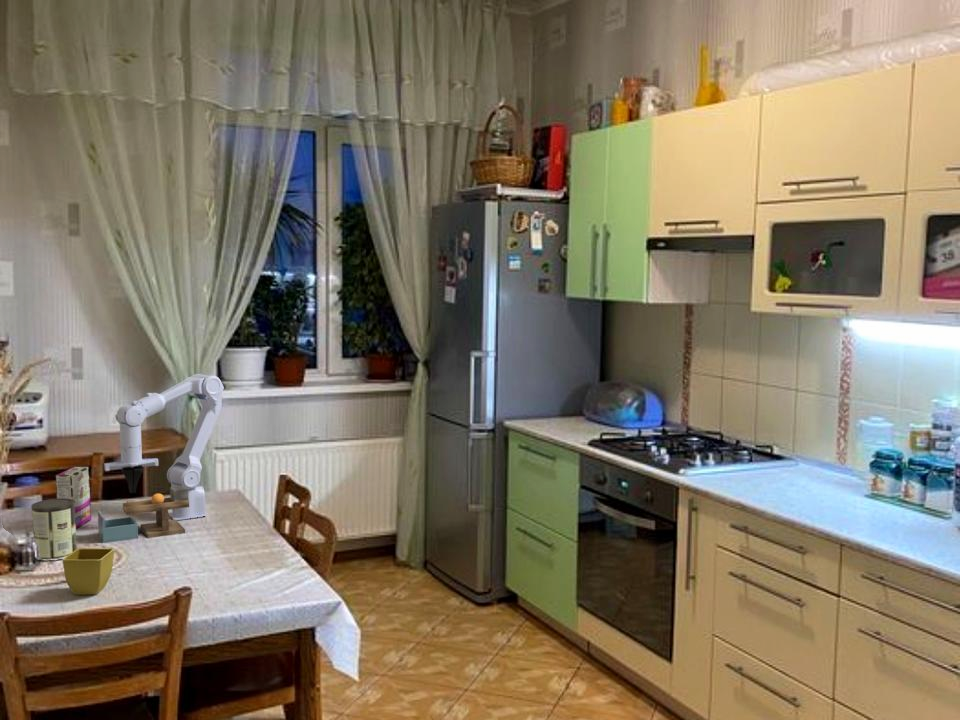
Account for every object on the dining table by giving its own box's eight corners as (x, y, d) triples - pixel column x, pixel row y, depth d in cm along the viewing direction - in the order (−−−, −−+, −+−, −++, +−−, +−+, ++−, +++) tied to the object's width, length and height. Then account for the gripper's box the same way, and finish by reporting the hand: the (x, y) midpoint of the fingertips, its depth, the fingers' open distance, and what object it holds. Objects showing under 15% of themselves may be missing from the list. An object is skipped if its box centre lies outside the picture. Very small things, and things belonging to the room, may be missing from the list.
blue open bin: (132, 530, 257) (131, 506, 256) (138, 537, 249) (137, 513, 248) (98, 534, 252) (97, 510, 251) (103, 542, 244) (102, 517, 244)
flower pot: (116, 584, 211) (115, 547, 210) (102, 598, 202) (100, 559, 201) (79, 585, 210) (77, 548, 210) (63, 598, 202) (61, 559, 201)
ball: (163, 503, 258) (162, 491, 258) (165, 506, 255) (165, 494, 255) (150, 505, 256) (150, 493, 256) (152, 507, 253) (152, 495, 253)
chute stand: (175, 522, 264) (174, 497, 264) (185, 532, 254) (184, 506, 253) (140, 527, 259) (139, 502, 259) (148, 537, 249) (147, 511, 248)
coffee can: (53, 548, 240) (51, 496, 238) (85, 551, 237) (83, 499, 236) (24, 559, 230) (22, 506, 228) (57, 563, 227) (55, 509, 226)
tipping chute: (179, 498, 267) (179, 481, 267) (189, 507, 257) (188, 489, 256) (119, 505, 259) (118, 488, 258) (126, 515, 248) (126, 496, 248)
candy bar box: (75, 520, 268) (73, 466, 266) (92, 520, 268) (89, 466, 266) (57, 530, 257) (54, 474, 255) (74, 530, 256) (72, 474, 255)
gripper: (106, 451, 250) (108, 498, 252) (159, 446, 258) (161, 492, 259) (102, 447, 256) (104, 493, 258) (155, 442, 264) (156, 487, 265)
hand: (132, 492), depth 259 cm, fingers closed
